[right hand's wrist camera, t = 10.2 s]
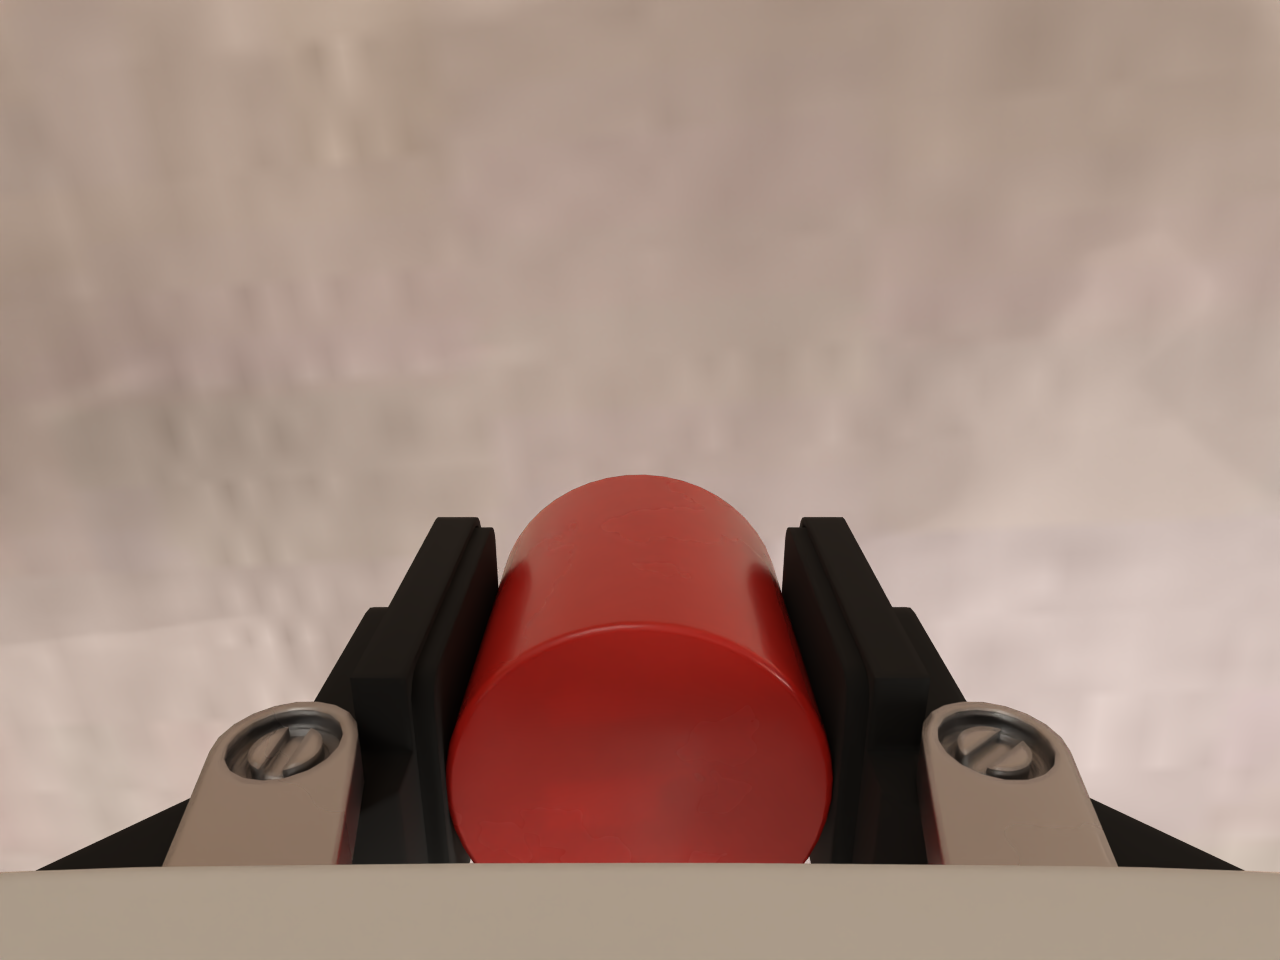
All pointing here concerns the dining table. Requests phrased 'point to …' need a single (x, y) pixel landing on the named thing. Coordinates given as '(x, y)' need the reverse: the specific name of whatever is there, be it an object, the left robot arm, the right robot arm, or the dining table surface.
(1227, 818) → the dining table surface
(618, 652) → the red cylinder
